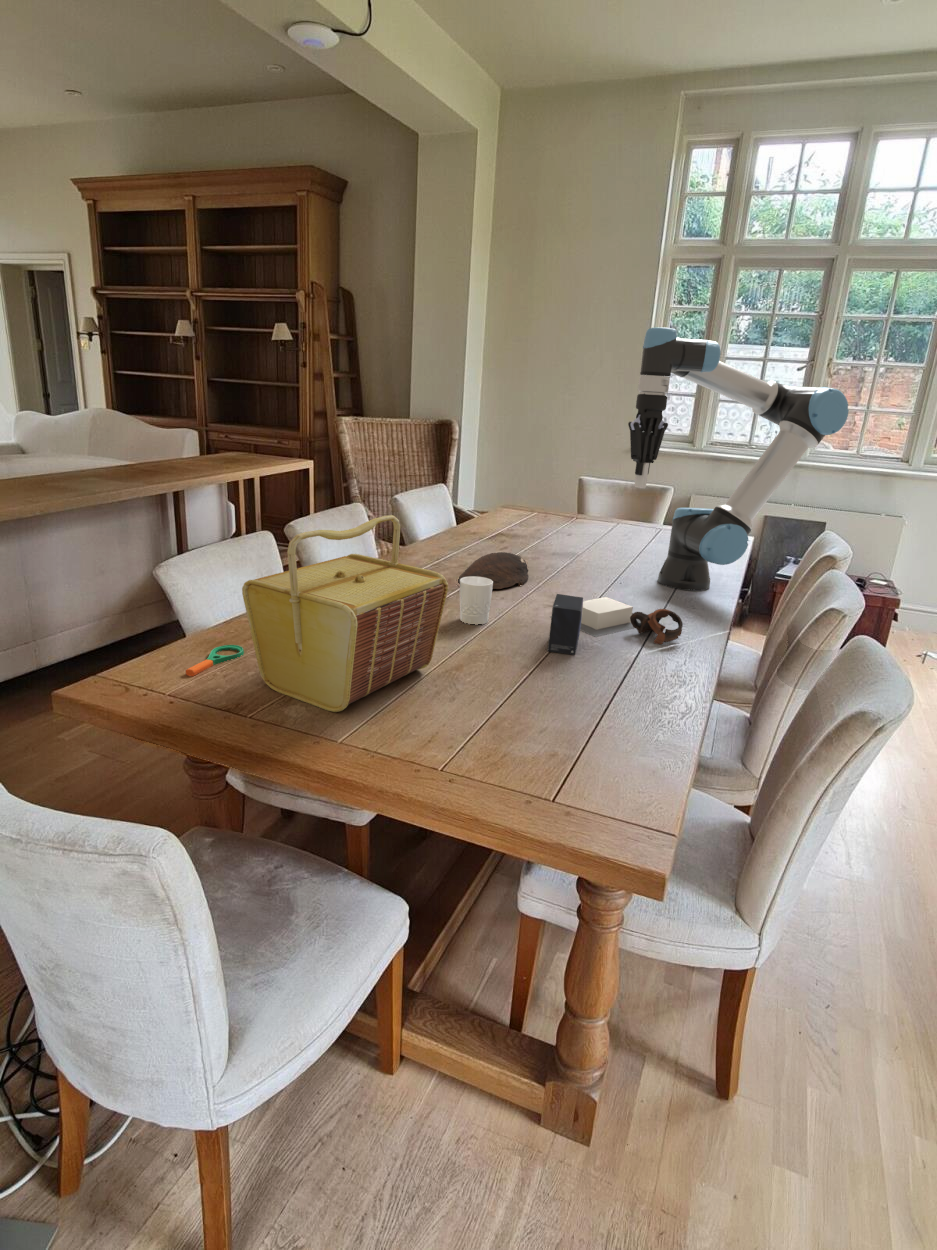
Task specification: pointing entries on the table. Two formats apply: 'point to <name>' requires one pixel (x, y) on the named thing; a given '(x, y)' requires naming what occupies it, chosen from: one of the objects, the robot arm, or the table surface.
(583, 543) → the table surface
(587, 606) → the tall block
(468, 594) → the white cup
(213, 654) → the magnifying glass
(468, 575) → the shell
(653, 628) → the brown curved piece
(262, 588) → the picnic basket
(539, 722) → the table surface
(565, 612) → the small box
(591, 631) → the mat
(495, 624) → the table surface
